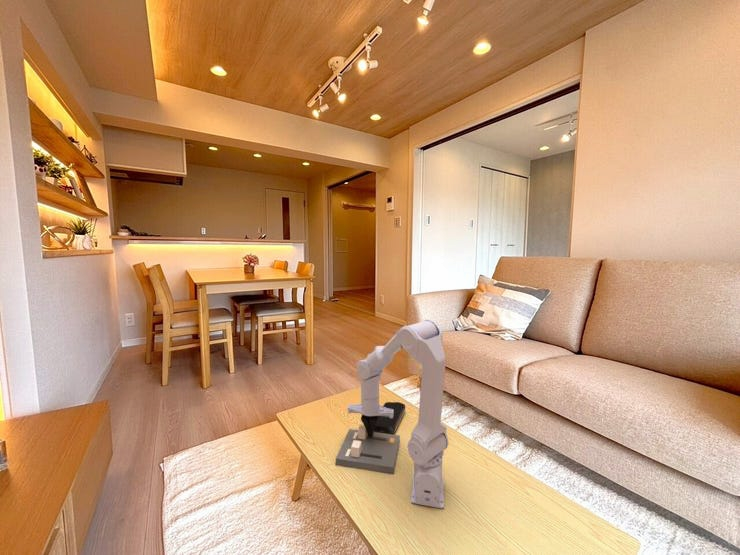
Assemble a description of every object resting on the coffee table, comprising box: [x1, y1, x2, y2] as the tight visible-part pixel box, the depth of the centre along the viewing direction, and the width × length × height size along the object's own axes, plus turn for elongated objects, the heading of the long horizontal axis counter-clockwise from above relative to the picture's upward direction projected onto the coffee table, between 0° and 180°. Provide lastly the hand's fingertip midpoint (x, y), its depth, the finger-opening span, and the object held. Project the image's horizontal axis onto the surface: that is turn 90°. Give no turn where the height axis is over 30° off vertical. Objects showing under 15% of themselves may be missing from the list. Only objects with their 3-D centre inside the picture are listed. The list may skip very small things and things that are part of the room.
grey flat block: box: [335, 428, 401, 475], centre depth 91 cm, size 14×17×2 cm
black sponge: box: [374, 401, 406, 434], centre depth 107 cm, size 16×8×4 cm, turn 158°
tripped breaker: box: [357, 423, 367, 440], centre depth 95 cm, size 3×2×3 cm
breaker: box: [351, 440, 362, 457], centre depth 88 cm, size 3×2×3 cm
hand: (370, 435), depth 95 cm, fingers closed
